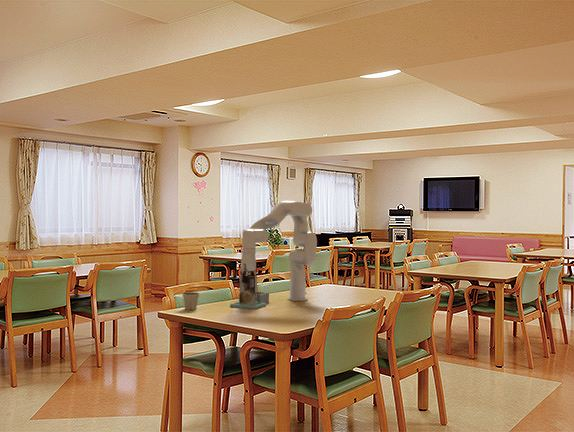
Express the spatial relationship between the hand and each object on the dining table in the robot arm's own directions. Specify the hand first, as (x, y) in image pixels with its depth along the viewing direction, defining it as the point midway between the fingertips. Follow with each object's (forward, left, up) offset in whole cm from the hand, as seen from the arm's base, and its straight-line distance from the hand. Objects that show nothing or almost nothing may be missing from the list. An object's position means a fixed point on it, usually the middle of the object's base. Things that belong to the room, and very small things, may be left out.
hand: (248, 281), depth 318 cm
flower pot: (+24, -23, -14) cm, 36 cm away
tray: (0, 0, -14) cm, 14 cm away
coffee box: (0, 0, -13) cm, 13 cm away
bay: (-12, -3, -14) cm, 19 cm away
